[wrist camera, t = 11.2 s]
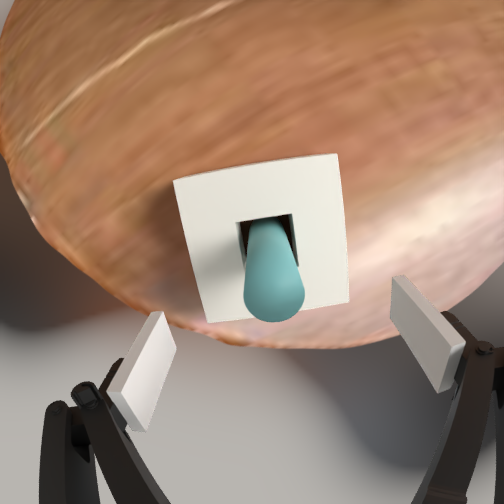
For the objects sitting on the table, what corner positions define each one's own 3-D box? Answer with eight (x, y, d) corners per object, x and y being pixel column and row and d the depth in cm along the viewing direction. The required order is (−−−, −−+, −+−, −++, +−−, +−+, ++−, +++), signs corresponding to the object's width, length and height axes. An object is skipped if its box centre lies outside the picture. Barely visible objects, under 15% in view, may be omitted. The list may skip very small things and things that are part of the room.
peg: (246, 218, 34) (238, 272, 18) (281, 212, 33) (301, 262, 18) (252, 250, 35) (249, 326, 20) (286, 245, 35) (307, 317, 19)
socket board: (184, 176, 32) (172, 180, 27) (325, 153, 31) (336, 153, 26) (213, 302, 37) (207, 323, 32) (338, 283, 36) (349, 302, 31)
